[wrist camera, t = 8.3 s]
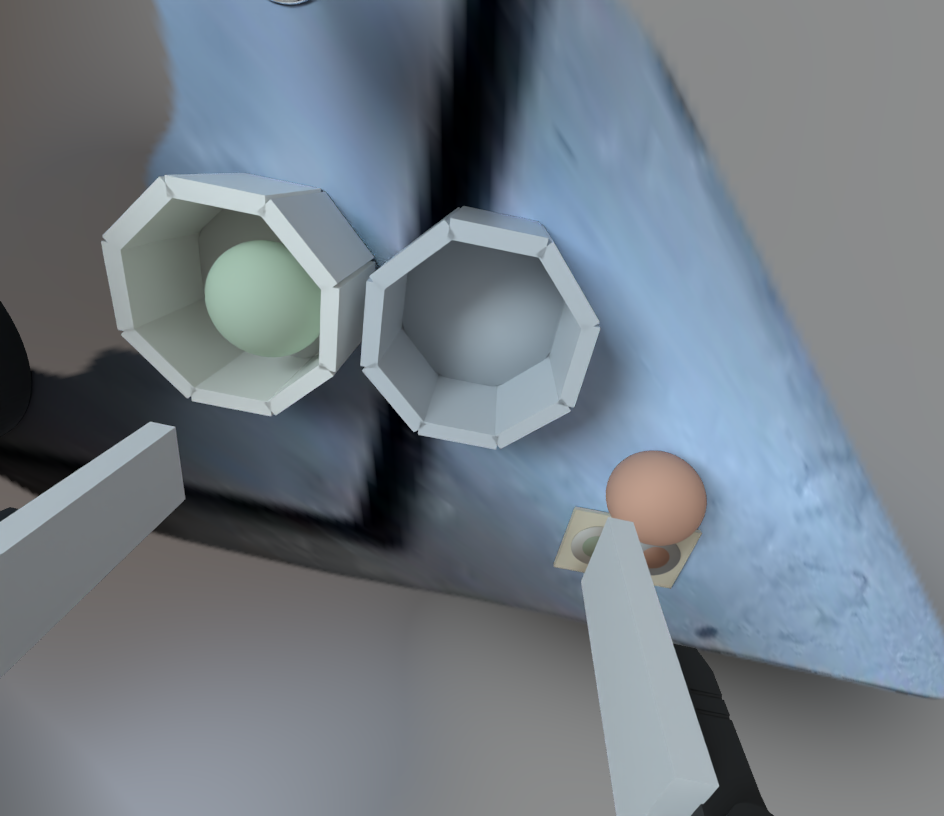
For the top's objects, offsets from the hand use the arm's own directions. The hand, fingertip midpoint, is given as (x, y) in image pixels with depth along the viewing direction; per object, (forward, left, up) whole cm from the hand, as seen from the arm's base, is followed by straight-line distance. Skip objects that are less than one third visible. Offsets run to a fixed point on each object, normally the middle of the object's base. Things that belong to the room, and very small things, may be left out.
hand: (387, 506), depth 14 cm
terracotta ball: (+13, -4, -12) cm, 18 cm away
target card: (+14, -10, -12) cm, 21 cm away
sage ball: (-8, +3, -11) cm, 14 cm away
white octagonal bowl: (-8, +3, -12) cm, 15 cm away
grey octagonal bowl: (+2, +3, -12) cm, 12 cm away
